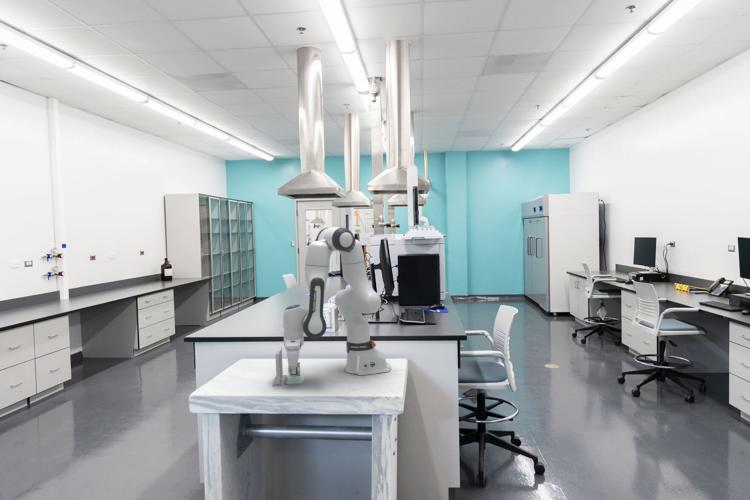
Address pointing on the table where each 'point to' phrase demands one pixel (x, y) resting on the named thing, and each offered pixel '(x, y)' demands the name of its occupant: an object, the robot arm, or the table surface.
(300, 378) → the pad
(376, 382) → the table surface
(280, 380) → the screen
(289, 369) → the letter cube
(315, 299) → the robot arm
